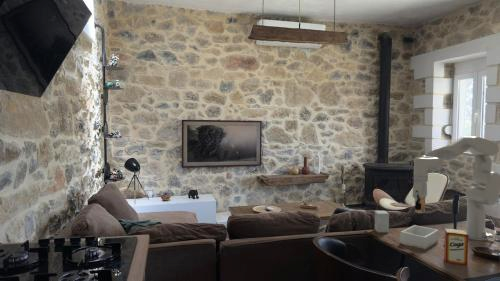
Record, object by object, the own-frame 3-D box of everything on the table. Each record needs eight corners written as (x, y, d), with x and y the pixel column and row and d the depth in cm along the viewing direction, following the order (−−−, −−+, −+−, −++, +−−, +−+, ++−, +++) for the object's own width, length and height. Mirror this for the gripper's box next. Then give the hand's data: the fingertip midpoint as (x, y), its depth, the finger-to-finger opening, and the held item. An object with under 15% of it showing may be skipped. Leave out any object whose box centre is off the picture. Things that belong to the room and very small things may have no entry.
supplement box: (385, 229, 230) (385, 210, 229) (389, 232, 222) (389, 213, 222) (374, 229, 231) (374, 210, 230) (377, 232, 223) (377, 213, 223)
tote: (414, 236, 216) (414, 225, 216) (438, 241, 206) (438, 230, 205) (400, 243, 202) (400, 231, 202) (425, 249, 192) (425, 237, 192)
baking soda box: (465, 260, 177) (465, 230, 176) (467, 265, 171) (468, 233, 170) (444, 257, 180) (444, 228, 180) (445, 262, 174) (446, 231, 174)
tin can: (425, 211, 203) (426, 195, 203) (422, 213, 200) (422, 196, 199) (417, 210, 207) (417, 193, 206) (413, 211, 203) (414, 195, 203)
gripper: (419, 176, 211) (419, 205, 212) (408, 179, 199) (407, 210, 200) (432, 177, 205) (432, 207, 206) (421, 180, 194) (420, 212, 195)
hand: (420, 208), depth 203 cm, fingers closed on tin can, 5 cm apart
